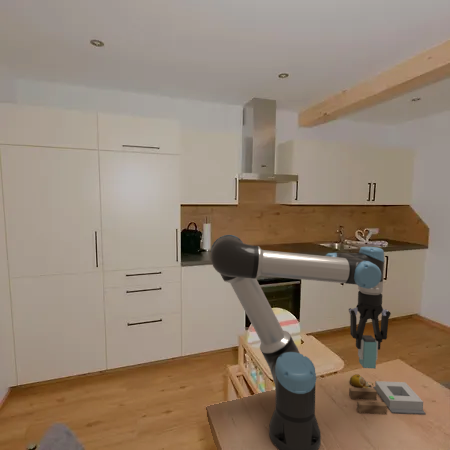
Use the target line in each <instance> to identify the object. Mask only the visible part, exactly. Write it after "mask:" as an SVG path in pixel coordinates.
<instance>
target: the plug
mask: <svg viewBox="0 0 450 450" xmlns="http://www.w3.org/2000/svg"><path fill="white" fill-rule="evenodd" d="M374 338H375V337H373V336H372V335H367V334H363V336H362V340H363V341H364V351H363V359H360V357H359V356H358V363H359V364H360V365H361V366H362V368H363V369H376V366H377V360H376V348H377V343H376V342H375V339H374Z"/></svg>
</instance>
